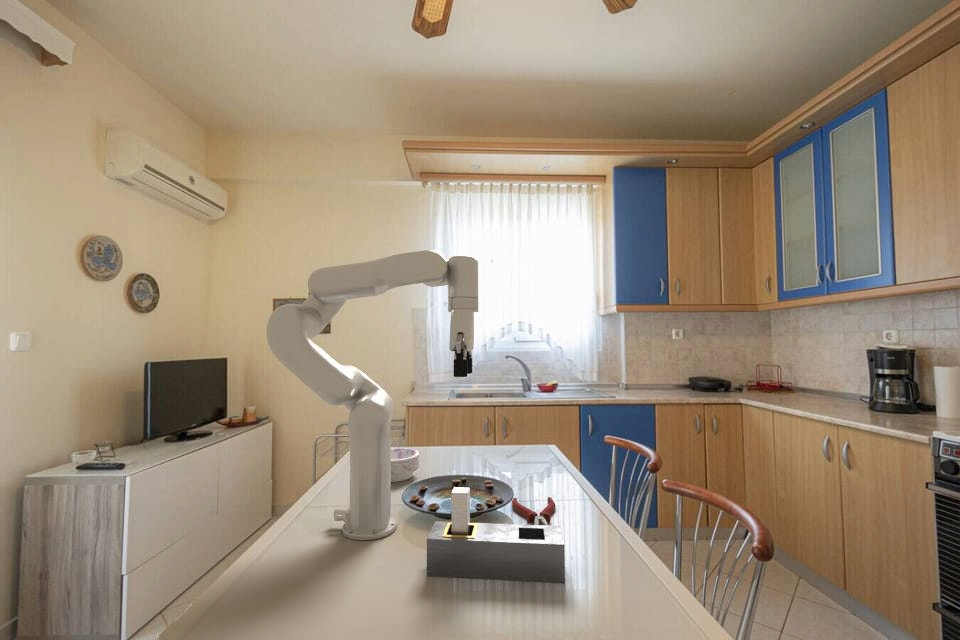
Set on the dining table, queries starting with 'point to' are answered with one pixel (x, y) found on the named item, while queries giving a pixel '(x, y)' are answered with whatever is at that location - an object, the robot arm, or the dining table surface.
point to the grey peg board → (497, 552)
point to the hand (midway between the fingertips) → (463, 375)
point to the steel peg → (461, 511)
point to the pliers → (532, 515)
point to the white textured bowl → (403, 463)
